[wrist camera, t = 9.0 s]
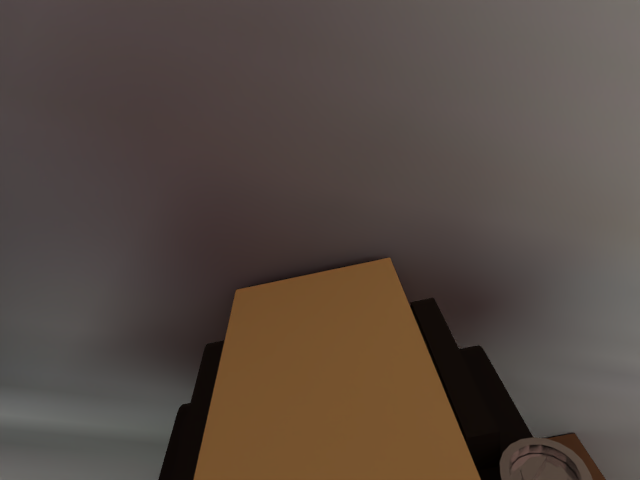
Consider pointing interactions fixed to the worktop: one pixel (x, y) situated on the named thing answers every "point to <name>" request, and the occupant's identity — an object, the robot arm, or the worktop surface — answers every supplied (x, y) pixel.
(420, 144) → the worktop surface
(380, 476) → the tool
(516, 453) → the robot arm
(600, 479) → the cabinet
